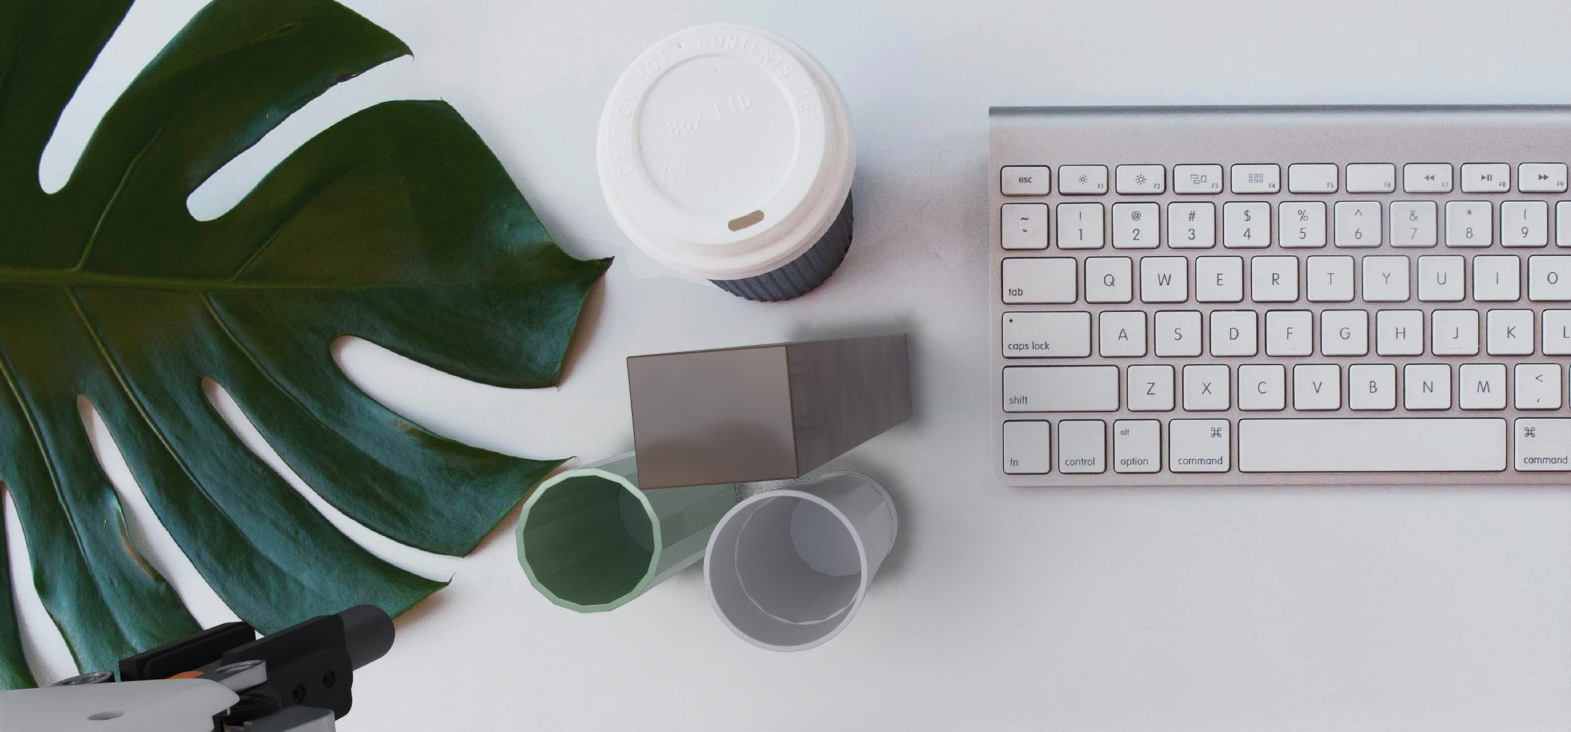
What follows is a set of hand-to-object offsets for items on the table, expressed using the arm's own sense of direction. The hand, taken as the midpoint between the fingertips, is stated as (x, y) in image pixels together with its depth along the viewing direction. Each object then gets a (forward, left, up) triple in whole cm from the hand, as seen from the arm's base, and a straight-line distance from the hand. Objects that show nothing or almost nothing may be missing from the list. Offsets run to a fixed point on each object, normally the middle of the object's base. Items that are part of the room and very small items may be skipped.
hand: (290, 666), depth 34 cm
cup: (-2, -10, -31) cm, 32 cm away
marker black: (0, 0, -4) cm, 4 cm away
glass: (0, 0, -30) cm, 30 cm away
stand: (+6, -12, -30) cm, 33 cm away
